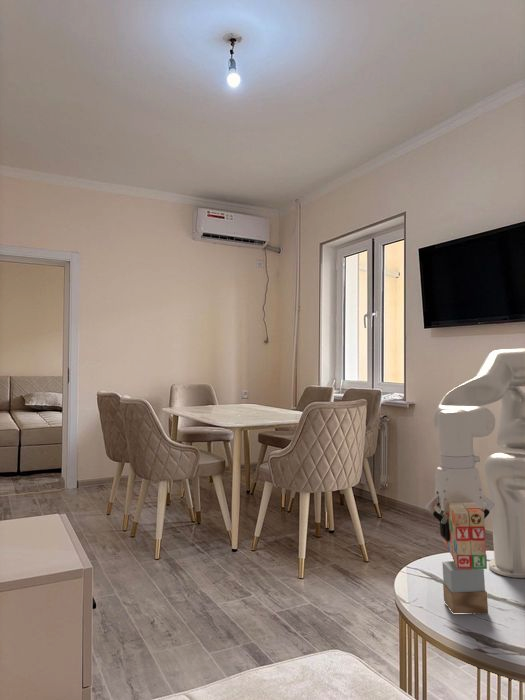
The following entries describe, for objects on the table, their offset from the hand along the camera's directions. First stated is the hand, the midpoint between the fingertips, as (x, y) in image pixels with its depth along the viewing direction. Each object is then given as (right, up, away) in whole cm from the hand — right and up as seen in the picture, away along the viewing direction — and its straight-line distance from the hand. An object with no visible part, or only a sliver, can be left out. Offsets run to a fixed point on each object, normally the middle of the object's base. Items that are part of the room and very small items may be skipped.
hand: (461, 538), depth 123 cm
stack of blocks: (0, -4, 0) cm, 4 cm away
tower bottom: (+1, -16, 0) cm, 17 cm away
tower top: (0, -11, 0) cm, 11 cm away
